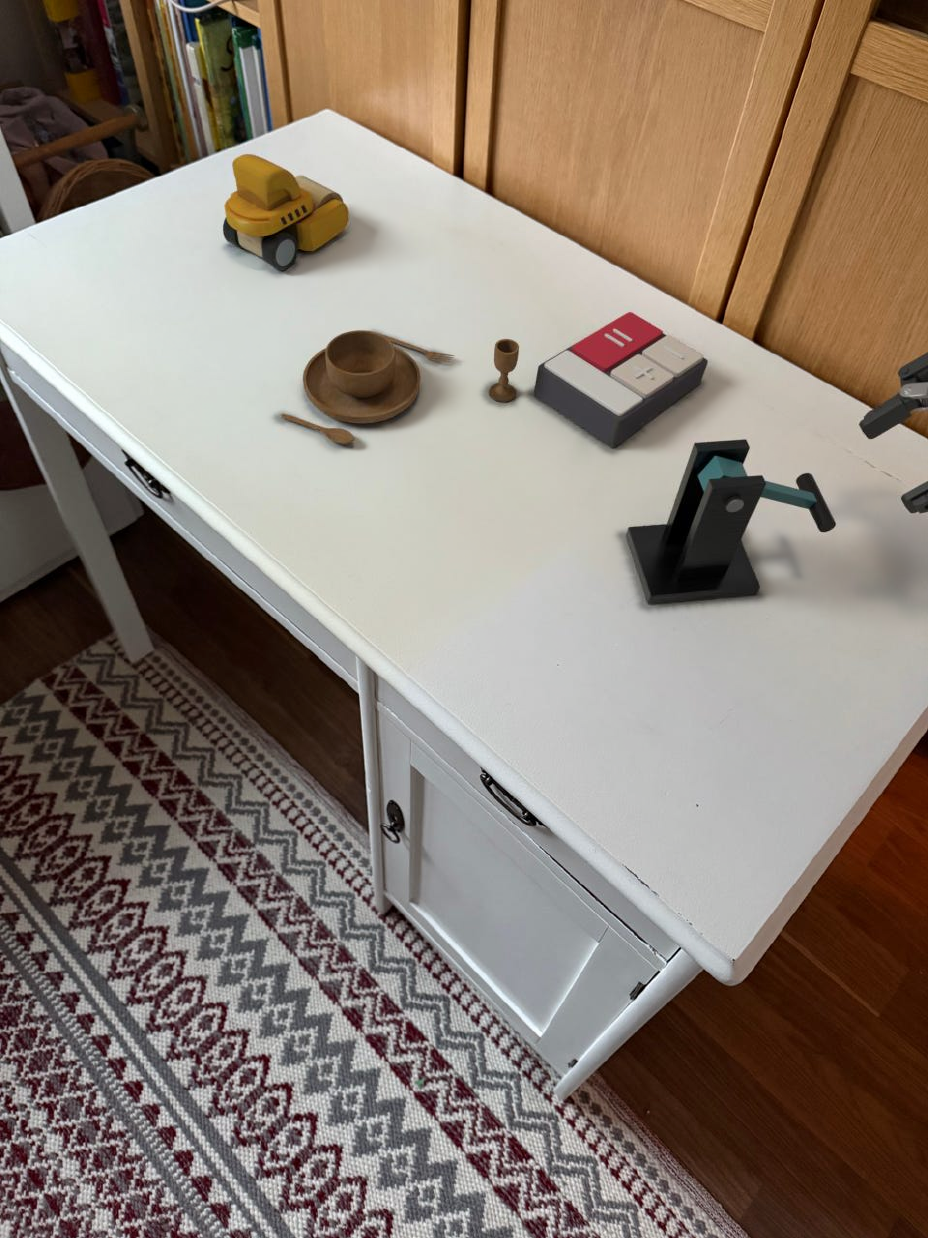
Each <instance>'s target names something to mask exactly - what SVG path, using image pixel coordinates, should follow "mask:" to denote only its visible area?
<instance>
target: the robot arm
mask: <svg viewBox="0 0 928 1238" xmlns="http://www.w3.org/2000/svg"><path fill="white" fill-rule="evenodd" d="M897 376H898V377H899V381H900V388H899V391H898V392H897V393H896V394H895V395H894V396H892V397H891V398H888V399H887V400H886V401H884V402H882V403H880V404H879V405H877V406H876V407H874V408H872V409H871V410H869V411H868V412H867V413H865V415H864V416H863V419H861V420H860V421H859V423H858V426H859V428H860V430H861V431H862V432H863V434H864V435H865V437H866V438H867V439H868V440H874V439H876V438H878V437H879V436H881V435H883V434H885V433H886V432H888V431H890V430H891V429H893V428H895V427H896V426H898V425H900V424H901V423H903V422H904V421H906V420H908V419H910V418H912V417H913V415H912V413H911V412H926V411H927V412H928V351H927V352H925V353H924V354H921V355H920V356H918V357H917V358H915V359H913V360H912V361H909V362H908V363H906V364H904V365H903V366H901V367H900V368H899V369H898V370H897ZM900 501H901V502H902V504H903V506H904V508H905V509H906V510H907V511H908V512H909V513H910V514H916V513H919V514H921V515H922V514H924V513H928V480H927V481H925V482H923V483H921V484H919V485H918V486H916V487H914V488H913V489H912V488H911V490H909V491H907V492H905V493H903V494H902V495H901V496H900Z"/></svg>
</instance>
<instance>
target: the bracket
mask: <svg viewBox="0 0 928 1238" xmlns="http://www.w3.org/2000/svg"><path fill="white" fill-rule="evenodd" d="M750 450H751V446H750V445H749V442H748V440H747V439H745V438H744V439H729V440H716V441H715V440H713V441H701V442H694V443H693V445H692V449H691V452H690V455H689V458H688V460H687V464H686V466H685V470H684V472H683V475H682V478H681V480H680V484H679V487H678V490H677V493H676V496H675V498H674V501H673V505H672V508H671V511H670V514H669V516H668V519H667V522H666V523H664V524H663V523H662V524H650V525H649V524H648V525H637V526H628V528H627V530H626V534H625V536H626V540H627V543H628V546H629V549H630V552H631V556H632V558H633V561H634V564H635V569H636V571H637V574H638V578H639V580H640V583H641V587H642V590H643V593H644V596H645V600H646V601H647V602H646V603H647V604H648V605H654V604H655V605H656V604H666V603H667V604H668V603H678V602H688V601H690V602H691V601H701V600H711V599H720V598H722V599H723V598H735V597H744V596H755V595H757V594H758V593H759V590H760V589H761V584H760V582H759V580H758V577H757V575H756V573H755V569H754V567H753V565H752V563H751V560H750V558H749V556H748V554H747V551H746V548H745V546H744V543H743V541H742V539H743V536H744V535H745V533H746V530H747V528H748V526H749V523H750V521H751V518H752V517H753V515H754V512H755V510H756V508H757V506H758V503H759V501H760V499H761V498H762V497H761V494H762V492H763V490H764V488H765V486H766V482H765V481H766V480H765V478H764V476H763V474H759V475H758V474H757V475H748V476H743V477H729V478H715V479H709V481H708V484H707V486H706V489H705V492H704V491H703V488H702V486H701V483H700V481H699V478H698V475H699V474H700V472H701V471H702V470H703V469H704V468H705V467H706V466H707V464H708V463H709V462H710V461H711V460H712V459H713V458H714V456H719V457H722V458H726V459H730V460H733V461H737V462H741V463H742V464H743V465H744V464H745V461H746V459H747V456H748V455H749V452H750Z"/></svg>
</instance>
